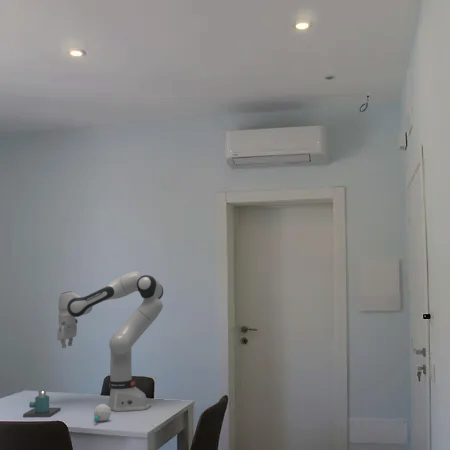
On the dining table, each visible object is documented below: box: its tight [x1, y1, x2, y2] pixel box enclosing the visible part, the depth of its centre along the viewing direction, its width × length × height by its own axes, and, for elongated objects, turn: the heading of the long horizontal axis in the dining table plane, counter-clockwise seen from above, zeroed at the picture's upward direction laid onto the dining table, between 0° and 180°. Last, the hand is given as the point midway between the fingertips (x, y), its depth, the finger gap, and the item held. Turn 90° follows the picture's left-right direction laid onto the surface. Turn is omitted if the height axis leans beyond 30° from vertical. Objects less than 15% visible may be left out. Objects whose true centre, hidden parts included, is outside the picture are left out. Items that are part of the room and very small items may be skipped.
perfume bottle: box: [93, 403, 112, 423], centre depth 280 cm, size 8×8×12 cm
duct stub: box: [22, 389, 62, 418], centre depth 301 cm, size 14×14×12 cm
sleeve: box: [28, 394, 50, 412], centre depth 301 cm, size 9×6×7 cm
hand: (67, 346), depth 323 cm, fingers open, 8 cm apart
